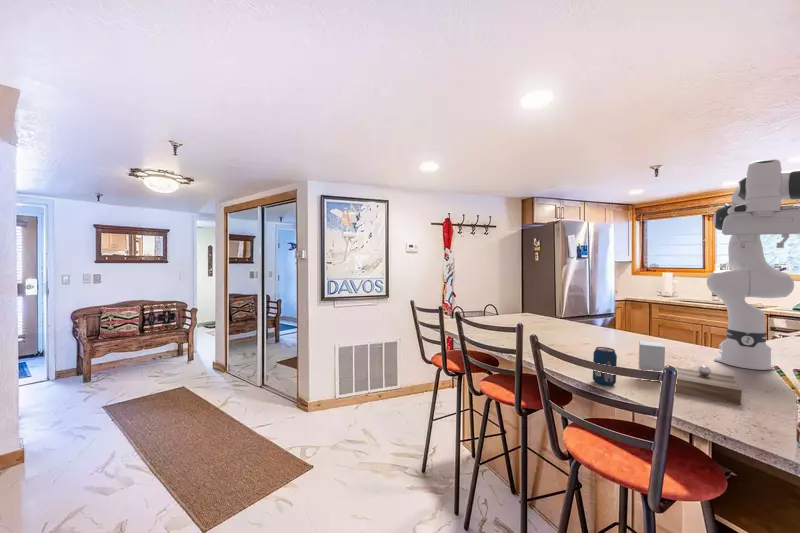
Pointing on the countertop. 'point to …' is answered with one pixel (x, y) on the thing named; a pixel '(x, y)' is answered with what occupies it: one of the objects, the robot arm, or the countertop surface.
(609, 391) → the countertop surface
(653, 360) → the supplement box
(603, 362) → the soda can
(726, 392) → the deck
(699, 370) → the ball
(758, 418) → the countertop surface
